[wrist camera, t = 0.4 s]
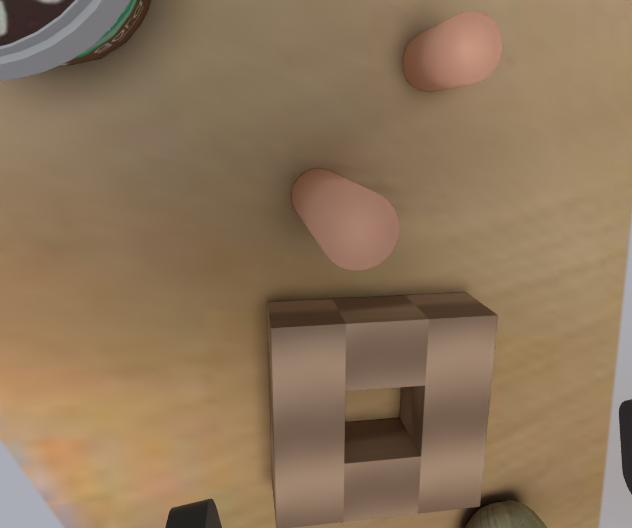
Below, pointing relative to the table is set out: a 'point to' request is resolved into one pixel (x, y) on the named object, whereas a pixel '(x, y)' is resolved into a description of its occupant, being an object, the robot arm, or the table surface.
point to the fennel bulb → (505, 516)
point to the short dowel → (454, 52)
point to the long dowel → (346, 219)
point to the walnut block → (386, 434)
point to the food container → (62, 32)
